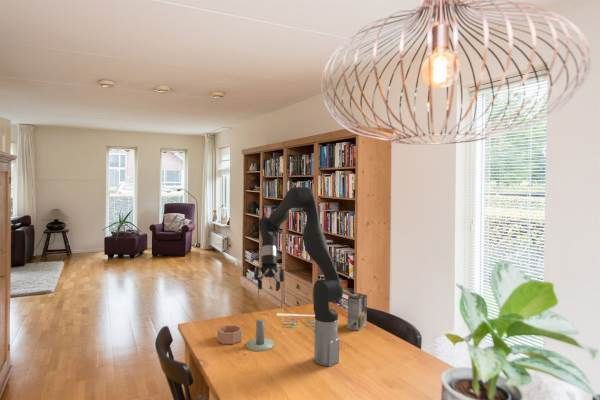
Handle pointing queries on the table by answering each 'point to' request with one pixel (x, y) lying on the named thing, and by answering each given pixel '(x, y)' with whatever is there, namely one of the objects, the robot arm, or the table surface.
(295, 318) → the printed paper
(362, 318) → the coffee box
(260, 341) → the peg on round base
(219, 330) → the bowl
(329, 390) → the table surface
